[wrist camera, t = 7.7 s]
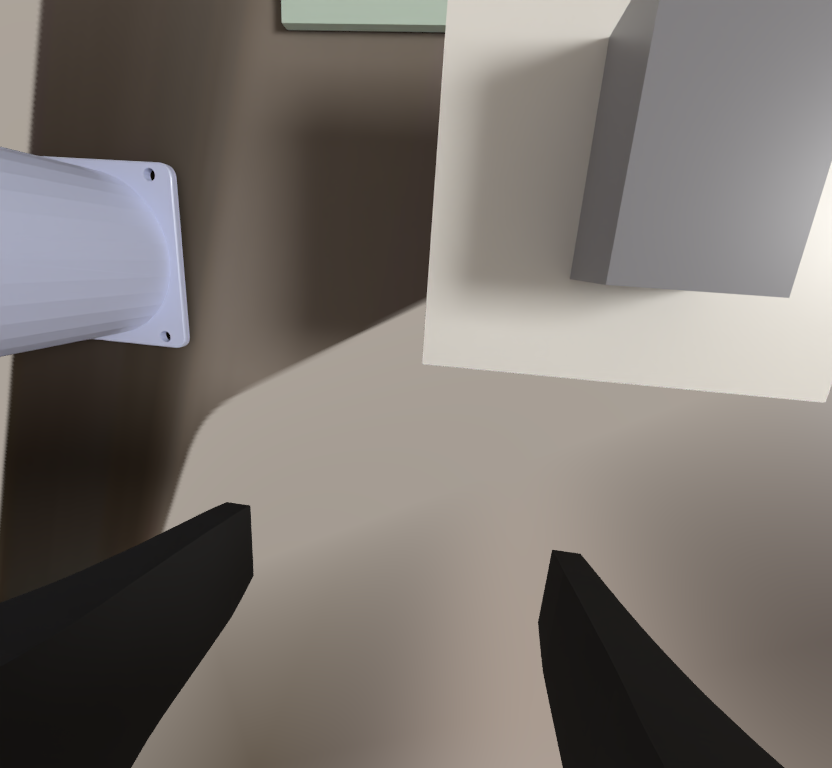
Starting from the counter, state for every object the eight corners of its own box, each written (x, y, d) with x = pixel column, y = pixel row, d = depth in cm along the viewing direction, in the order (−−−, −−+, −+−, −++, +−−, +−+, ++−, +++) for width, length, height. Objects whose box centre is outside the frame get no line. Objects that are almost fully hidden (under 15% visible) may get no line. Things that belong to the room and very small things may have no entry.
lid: (424, 359, 12) (403, 397, 9) (456, -87, 9) (444, -296, 6) (807, 395, 11) (959, 455, 7) (978, -101, 8) (1350, -370, 5)
